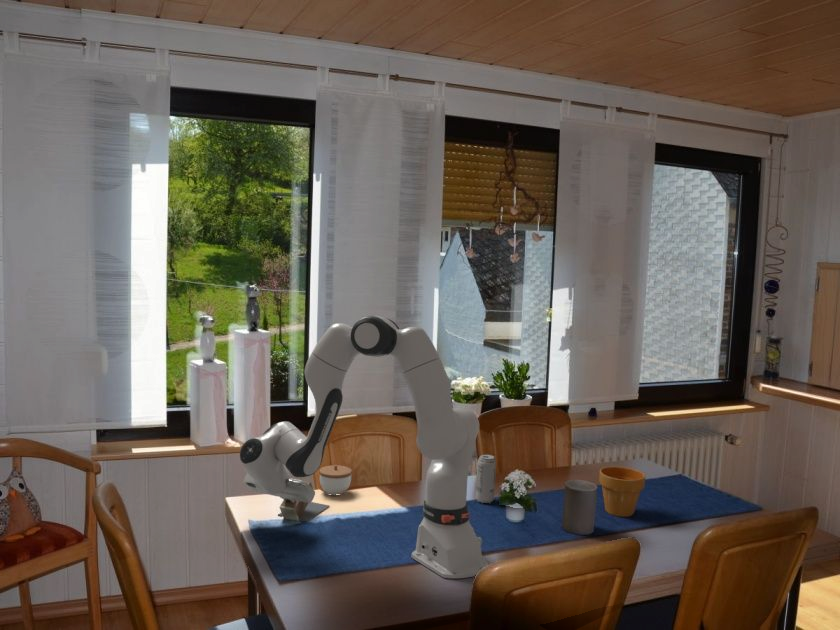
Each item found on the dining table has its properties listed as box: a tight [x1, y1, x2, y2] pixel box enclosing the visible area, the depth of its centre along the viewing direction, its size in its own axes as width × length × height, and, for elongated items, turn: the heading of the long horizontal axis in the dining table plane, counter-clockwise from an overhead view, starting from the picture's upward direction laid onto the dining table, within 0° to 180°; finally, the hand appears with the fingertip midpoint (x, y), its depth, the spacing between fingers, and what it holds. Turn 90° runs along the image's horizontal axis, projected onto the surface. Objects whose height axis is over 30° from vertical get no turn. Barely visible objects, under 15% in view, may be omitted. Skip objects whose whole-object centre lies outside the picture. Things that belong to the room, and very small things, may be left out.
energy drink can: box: [475, 454, 497, 504], centre depth 243 cm, size 6×6×15 cm
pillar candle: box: [561, 479, 598, 536], centre depth 223 cm, size 10×10×15 cm
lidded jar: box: [318, 464, 353, 496], centre depth 245 cm, size 11×11×9 cm
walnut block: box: [279, 478, 314, 522], centre depth 223 cm, size 5×5×11 cm
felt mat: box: [277, 501, 330, 522], centre depth 227 cm, size 14×10×1 cm
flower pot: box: [598, 466, 646, 518], centre depth 238 cm, size 14×14×13 cm
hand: (290, 499), depth 220 cm, fingers closed, pressing on walnut block
